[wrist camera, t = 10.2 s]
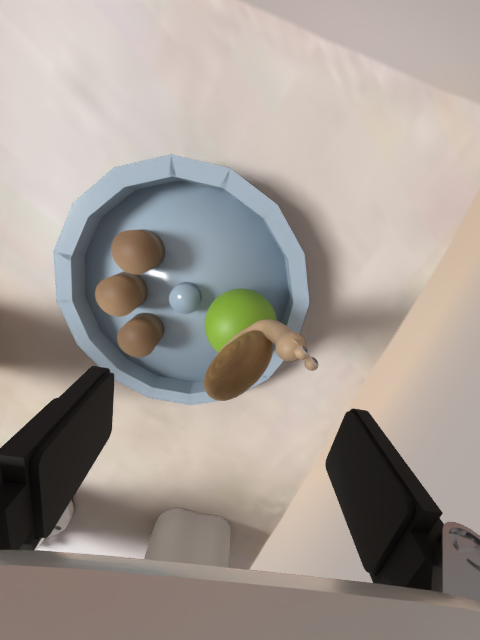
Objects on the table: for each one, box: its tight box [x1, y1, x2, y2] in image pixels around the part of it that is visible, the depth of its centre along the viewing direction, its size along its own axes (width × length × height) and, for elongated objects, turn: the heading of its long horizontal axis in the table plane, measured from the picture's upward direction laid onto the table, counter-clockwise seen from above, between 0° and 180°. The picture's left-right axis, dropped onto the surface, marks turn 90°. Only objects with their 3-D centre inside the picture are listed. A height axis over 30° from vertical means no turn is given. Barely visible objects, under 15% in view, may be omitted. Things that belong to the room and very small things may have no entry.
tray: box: [54, 154, 309, 405], centre depth 21 cm, size 19×19×3 cm
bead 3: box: [117, 313, 164, 357], centre depth 21 cm, size 3×3×2 cm
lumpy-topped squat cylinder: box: [145, 508, 231, 568], centre depth 31 cm, size 10×13×9 cm
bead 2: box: [95, 272, 148, 317], centre depth 20 cm, size 3×3×2 cm
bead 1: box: [111, 229, 165, 275], centre depth 19 cm, size 3×3×2 cm
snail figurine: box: [204, 289, 318, 401], centre depth 16 cm, size 5×6×12 cm
